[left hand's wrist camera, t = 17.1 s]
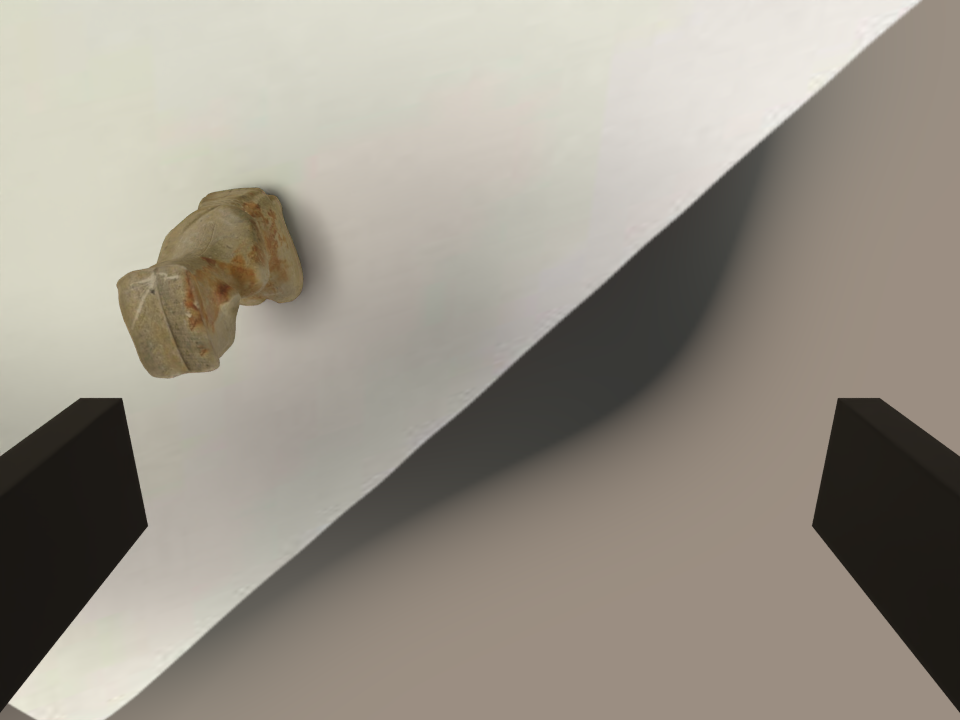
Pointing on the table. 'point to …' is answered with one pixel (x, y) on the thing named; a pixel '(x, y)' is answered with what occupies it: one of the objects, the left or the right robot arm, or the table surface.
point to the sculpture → (209, 281)
